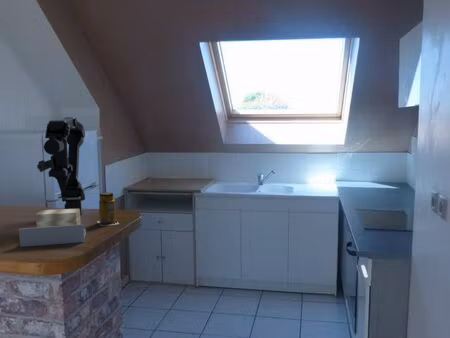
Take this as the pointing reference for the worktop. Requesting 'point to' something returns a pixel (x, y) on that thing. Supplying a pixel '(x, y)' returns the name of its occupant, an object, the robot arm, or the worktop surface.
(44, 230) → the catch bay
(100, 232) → the worktop surface
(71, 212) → the wide block
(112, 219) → the condiment
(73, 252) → the worktop surface
